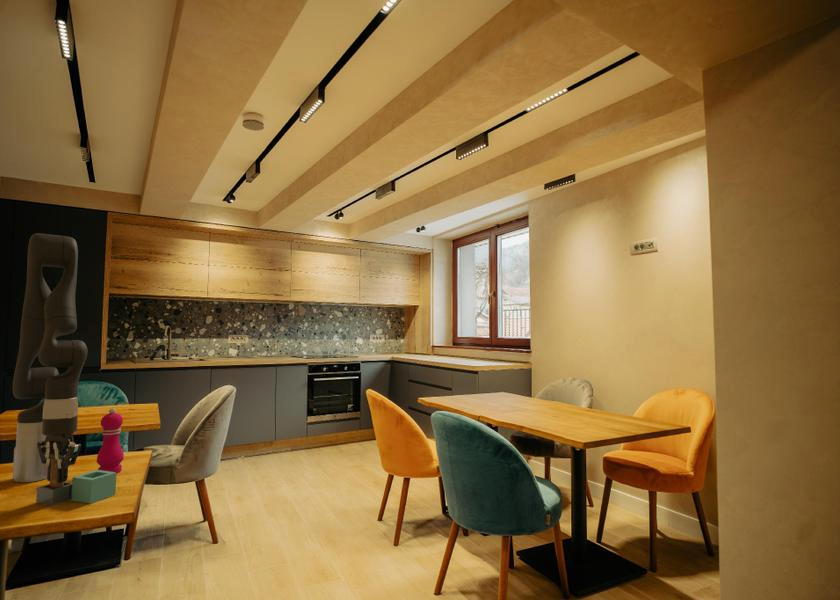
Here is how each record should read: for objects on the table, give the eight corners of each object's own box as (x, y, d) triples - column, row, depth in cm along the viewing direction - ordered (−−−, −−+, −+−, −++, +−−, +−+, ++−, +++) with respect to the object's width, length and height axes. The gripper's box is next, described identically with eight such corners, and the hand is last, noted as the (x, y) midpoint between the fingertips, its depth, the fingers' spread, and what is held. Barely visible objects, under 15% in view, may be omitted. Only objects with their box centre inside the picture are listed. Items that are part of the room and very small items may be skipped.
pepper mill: (109, 476, 147) (112, 410, 148) (90, 475, 148) (93, 409, 150) (128, 469, 154) (131, 406, 155) (109, 468, 155) (112, 406, 157)
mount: (36, 503, 124) (36, 487, 125) (59, 495, 130) (60, 480, 130) (52, 506, 122) (53, 490, 123) (75, 498, 128) (76, 483, 128)
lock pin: (43, 502, 125) (45, 453, 126) (58, 497, 129) (60, 450, 129) (53, 504, 124) (56, 455, 125) (68, 499, 127) (70, 451, 128)
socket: (71, 500, 126) (72, 477, 127) (96, 491, 133) (97, 469, 133) (90, 503, 124) (91, 480, 125) (115, 494, 131) (116, 472, 131)
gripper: (27, 415, 126) (23, 482, 125) (64, 419, 122) (61, 488, 121) (56, 411, 133) (53, 474, 132) (93, 414, 129) (90, 479, 128)
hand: (57, 480), depth 126 cm, fingers closed on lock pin, 3 cm apart
